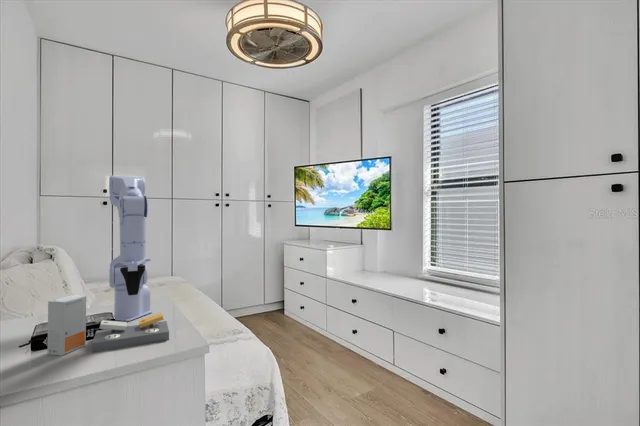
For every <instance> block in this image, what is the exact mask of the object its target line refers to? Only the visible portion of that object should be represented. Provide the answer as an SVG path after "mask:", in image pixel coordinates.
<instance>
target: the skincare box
mask: <svg viewBox="0 0 640 426" xmlns="http://www.w3.org/2000/svg"><path fill="white" fill-rule="evenodd" d="M47 303H48V304H47V355H53V356H65V355H66V354H69V353H71V352H74V351H76V350H79V349H81V348H83V346H84V347H86V339H87V338H86V337H87V336H86V335H87V334H86V330H87V296H86V295H77V294H76V295H75V294H71V295H68V296H61V297H59V298H56V299H52V300H48V302H47Z"/></svg>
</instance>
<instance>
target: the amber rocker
mask: <svg viewBox="0 0 640 426" xmlns="http://www.w3.org/2000/svg"><path fill="white" fill-rule="evenodd" d="M162 321H164V315H163V312H159V313H156V314H154V315H151V316H148V317H145V318H142V319H139V320H138V325H139V326H140V328H142V327H145V326H147V325H150V324H153V323H156V322H162Z"/></svg>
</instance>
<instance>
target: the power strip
mask: <svg viewBox="0 0 640 426" xmlns="http://www.w3.org/2000/svg"><path fill="white" fill-rule="evenodd" d="M168 340H169V341H170V329H169V325H168V321H167V320H165V321H164V320H161V321H158V322H156V323H153V324H150V325H147V326H145V327H142V328H140V326H139V324H136V325H135V324H134V325H127V326H126V330H114V329H100V330H96V331H95V334H94V337H93V340H92V342H91V353H95V352H101V351H108V350H113V349H119V348H125V347H131V346H137V345H144V344H149V343H156V342H162V341H168Z"/></svg>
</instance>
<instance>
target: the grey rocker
mask: <svg viewBox="0 0 640 426" xmlns="http://www.w3.org/2000/svg"><path fill="white" fill-rule="evenodd" d="M127 322H128V321H119V320H106V319H105V320H104V319H103V320H101V322H100V325H99V329H100V330H105V329H114V330H126V327H127V326H128V323H127Z"/></svg>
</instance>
